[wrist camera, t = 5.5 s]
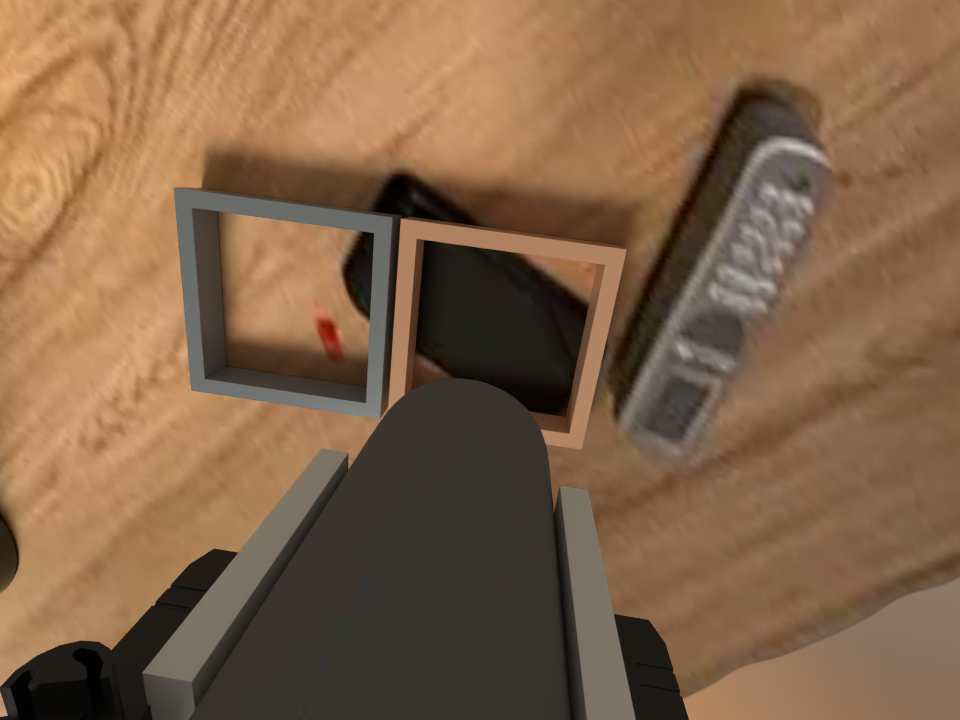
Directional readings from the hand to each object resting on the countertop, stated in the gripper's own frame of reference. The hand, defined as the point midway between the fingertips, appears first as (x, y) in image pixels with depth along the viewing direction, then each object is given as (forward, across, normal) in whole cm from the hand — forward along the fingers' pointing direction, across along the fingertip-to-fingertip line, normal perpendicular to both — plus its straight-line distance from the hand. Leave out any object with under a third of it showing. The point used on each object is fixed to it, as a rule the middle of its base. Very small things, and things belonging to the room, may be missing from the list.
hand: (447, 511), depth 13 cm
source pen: (+19, -13, 0) cm, 23 cm away
